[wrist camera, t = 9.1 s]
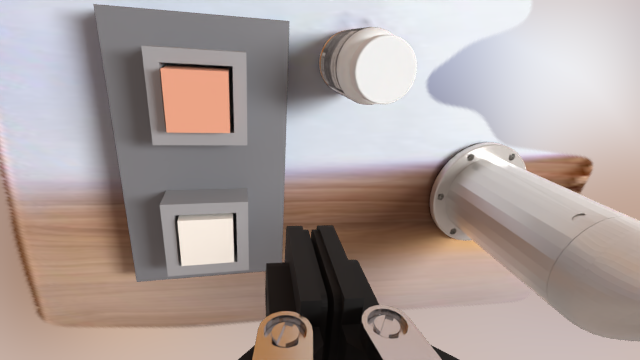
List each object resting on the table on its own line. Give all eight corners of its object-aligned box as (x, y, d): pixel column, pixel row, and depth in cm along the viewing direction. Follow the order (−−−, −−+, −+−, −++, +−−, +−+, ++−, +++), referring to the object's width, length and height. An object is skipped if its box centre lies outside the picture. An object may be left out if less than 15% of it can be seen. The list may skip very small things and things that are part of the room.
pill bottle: (385, 51, 33) (440, 55, 24) (353, 103, 34) (395, 125, 25) (337, 17, 31) (378, 7, 22) (305, 73, 32) (332, 86, 23)
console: (284, 22, 30) (295, 19, 25) (278, 253, 39) (285, 288, 34) (107, 7, 27) (75, -1, 22) (144, 263, 36) (128, 303, 30)
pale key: (232, 203, 32) (232, 218, 29) (234, 244, 33) (234, 262, 31) (182, 205, 31) (177, 221, 28) (186, 247, 32) (181, 266, 30)
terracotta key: (228, 68, 27) (228, 71, 24) (230, 124, 28) (229, 133, 26) (168, 65, 26) (160, 68, 23) (173, 123, 27) (166, 132, 25)
